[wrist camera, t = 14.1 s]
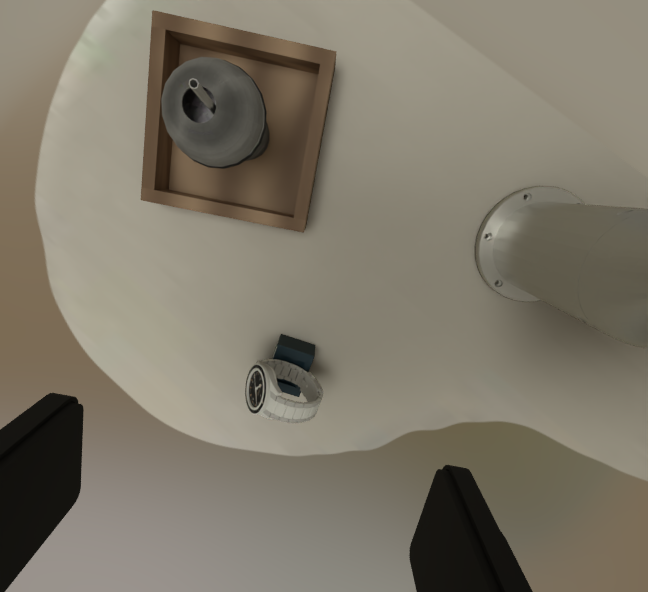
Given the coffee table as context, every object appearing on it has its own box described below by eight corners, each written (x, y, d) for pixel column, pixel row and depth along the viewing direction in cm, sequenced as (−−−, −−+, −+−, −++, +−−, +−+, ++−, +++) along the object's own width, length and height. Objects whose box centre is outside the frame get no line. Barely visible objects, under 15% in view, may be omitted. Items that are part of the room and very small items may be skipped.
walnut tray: (335, 66, 38) (336, 51, 33) (305, 227, 42) (303, 232, 38) (172, 30, 37) (152, 10, 32) (160, 198, 41) (140, 200, 37)
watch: (265, 328, 45) (247, 372, 35) (328, 349, 46) (330, 398, 35) (251, 368, 47) (230, 422, 36) (313, 388, 47) (310, 446, 37)
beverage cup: (205, 99, 38) (80, 8, 18) (279, 92, 37) (230, -7, 18) (217, 176, 40) (116, 167, 20) (287, 170, 39) (251, 155, 20)
